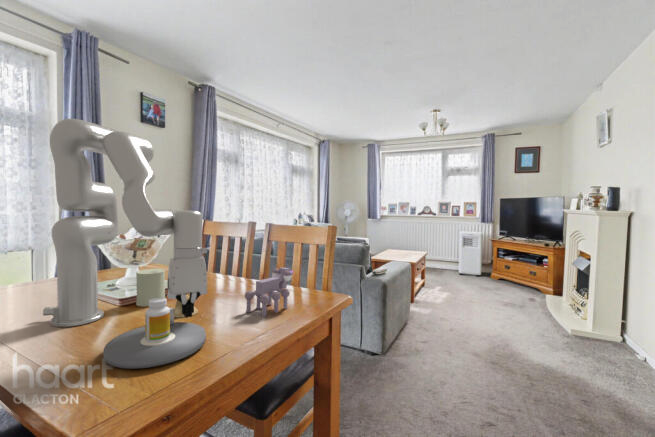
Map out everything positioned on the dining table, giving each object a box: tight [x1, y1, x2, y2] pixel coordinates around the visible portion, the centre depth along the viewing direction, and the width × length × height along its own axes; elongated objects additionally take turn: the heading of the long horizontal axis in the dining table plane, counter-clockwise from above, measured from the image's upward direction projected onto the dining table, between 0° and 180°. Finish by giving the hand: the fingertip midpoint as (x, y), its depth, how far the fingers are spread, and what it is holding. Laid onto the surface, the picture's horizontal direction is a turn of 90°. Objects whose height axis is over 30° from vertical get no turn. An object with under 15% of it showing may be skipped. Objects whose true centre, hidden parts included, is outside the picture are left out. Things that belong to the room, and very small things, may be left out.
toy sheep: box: [244, 267, 295, 318], centre depth 108 cm, size 20×11×14 cm, turn 145°
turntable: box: [103, 307, 207, 369], centre depth 76 cm, size 22×22×6 cm
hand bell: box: [174, 293, 199, 319], centre depth 101 cm, size 8×8×16 cm
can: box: [135, 268, 166, 308], centre depth 111 cm, size 9×9×12 cm
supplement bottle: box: [144, 297, 170, 342], centre depth 76 cm, size 5×5×10 cm
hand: (187, 315), depth 89 cm, fingers closed
